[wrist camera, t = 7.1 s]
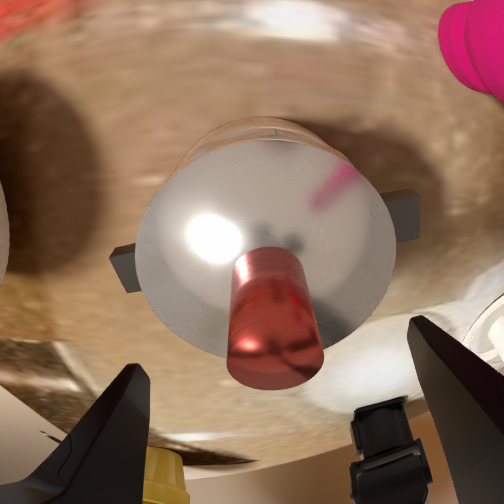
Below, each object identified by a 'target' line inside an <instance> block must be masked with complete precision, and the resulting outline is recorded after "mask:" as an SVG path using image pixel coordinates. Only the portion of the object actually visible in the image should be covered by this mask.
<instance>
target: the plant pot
mask: <svg viewBox="0 0 504 504" xmlns="http://www.w3.org/2000/svg"><path fill="white" fill-rule="evenodd" d="M142 504H190V495H189V494H188V493H187V492H186V487H185V480H184V472H183V462H182V457H181V456H180V455H179V454H177V453H175V452H173V451H170V450H167V449H164V448H159V447H147V451H146V462H145V474H144V487H143V503H142Z"/></svg>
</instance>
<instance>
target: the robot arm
mask: <svg viewBox="0 0 504 504" xmlns="http://www.w3.org/2000/svg"><path fill="white" fill-rule="evenodd" d="M407 341H408V344H409V348H410V351H411V355H412V358H413V362H414V365H415V369H416V373H417V376H418V380H419V383H420V385H421V388H422V391H423V393H424V396H425V399H426V401H427V404H428V407H429V409H430V412H431V415H432V418H433V420H434V423H435V426H436V429H437V432H438V435H439V438H440V441H441V444H442V447H443V450H444V453H445V456H446V460H447V462H448V466H449V469H450V473H451V476H452V480H453V484H454V487H455V491H456V495H457V499H458V503H459V504H504V376H503V375H502V374H501V373H499V372H497V370H495V369H494V368H493V367H492V366H490V365H489V364H488V363H486V362H485V361H484V360H482V359H481V358H480V357H479V356H477V355H476V354H475V353H473V352H472V351H471V350H469V349H468V348H467V347H465V346H464V345H463V344H461V343H460V342H459V341H457V340H456V339H455V338H453V337H452V336H450V335H449V334H448V333H446V332H445V331H444V330H442V329H441V328H440V327H438V326H437V325H435V324H434V323H433V322H431V321H430V320H429V319H427V318H426V317H424V316H422V315H419V316H415V317H412V318H411V319H410V321H409V327H408V332H407ZM405 401H406V400H405V398H404V397H402V398H398V399H395V400H392V401H388V402H384V403H381V404H377V405H373V406H369V407H365V408H361V409H357V410H355V411H354V418H353V421H351V425H350V432H351V437H352V442H353V447H354V452H355V455H356V456H359V455H360V458H361V461H358V462H352V463H351V467H350V475H351V491H350V497H351V499H352V500H354V501H355V502H356V504H429V503H430V496H429V491H428V487H427V485H429V484H432V483H433V480H432V476H431V472H430V468H429V465H428V462H427V459H426V455H425V452H424V449H423V446H422V443H421V440H420V438H418V439H416V440H415V441H414V440H413V436H412V433H411V430H410V427H409V424H408V420H407V417H406V414H405V411H404V408H403V407H404V404H405ZM149 422H150V379H149V376H148V375H147V374H146V372H145V371H144V369H143V368H142V367H141V365H140V364H138V363H130V364H127V365H126V366H125V367H124V368H123V370H122V371H121V372H120V373H119V374H118V375H117V377H116V378H115V379H114V380H113V381H112V382H111V384H110V385H109V386H108V387H107V388H106V390H105V391H104V392H103V393H102V394H101V395H100V397H99V398H98V399H97V400H96V401H95V403H94V404H93V405H92V406H91V407H90V409H89V410H88V411H87V412H86V413H85V415H84V416H83V417H82V418H81V419H80V421H79V422H78V423H77V424H76V425H75V427H74V428H73V429H72V430H71V431H70V433H69V434H68V435H67V436H66V437H65V439H64V440H63V441H62V442H61V443H60V444H59V446H58V447H57V448H56V449H55V450H54V451H53V452H52V453H51V454H50V455H49V457H47V459H45V460H44V461H43V462H42V463H41V464H40V465H39V466H38V467H37V468H36V469H35V471H33V473H31V474H30V475H29V476H28V477H26V478H25V479H23V480H21V481H18V482H14V483H10V484H4V485H0V504H142V503H143V487H144V474H145V462H146V451H147V441H148V432H149ZM418 453H420V455H416V454H418ZM414 455H415V456H414Z"/></svg>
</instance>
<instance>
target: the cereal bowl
mask: <svg viewBox="0 0 504 504" xmlns="http://www.w3.org/2000/svg"><path fill="white" fill-rule="evenodd" d="M9 237H10V233H9V221H8V214H7V206H6V202H5V197H4V192H3V189H2V185H1V181H0V287H1V283H2V281H3V279H4V274H5V272H6V266H7V264H8V256H9V246H10V243H9Z"/></svg>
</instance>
